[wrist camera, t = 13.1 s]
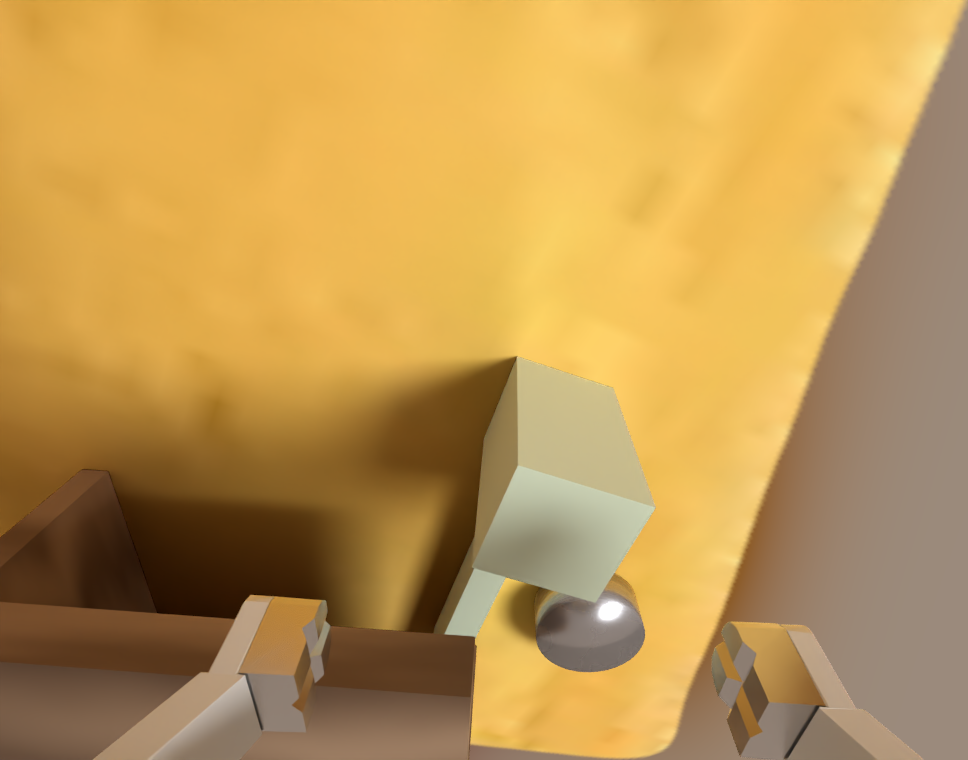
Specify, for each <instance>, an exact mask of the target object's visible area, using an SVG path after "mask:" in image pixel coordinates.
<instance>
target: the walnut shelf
mask: <svg viewBox="0 0 968 760" xmlns="http://www.w3.org/2000/svg"><path fill="white" fill-rule="evenodd" d="M234 620H235V619H228V618H214V617H200V616H186V615H173V614H159V613H157V611H156V609H155V606H154V603H153V600H152V597H151V594H150V591H149V588H148V585H147V583H146V580H145V577H144V574H143V571H142V568H141V565H140V562H139V559H138V556H137V554H136V551H135V548H134V545H133V542H132V539H131V536H130V533H129V530H128V528H127V525H126V522H125V519H124V516H123V513H122V510H121V507H120V504H119V501H118V499H117V496H116V493H115V490H114V487H113V484H112V481H111V478H110V475H109V473H108V471H96V470H81V471H80V472H78V473H77V474H76V475H75V476H74V477H72V478H71V479H70V480H69V481H68V482H66V483H65V484H64V485H63V486H62V487H60V488H59V489H58V490H57V491H56V492H54V493H53V494H52V495H51V496H50V497H48V498H47V499H46V500H45V501H44V502H42V503H41V504H40V505H39V506H38V507H36V508H35V509H34V510H33V511H32V512H30V513H29V514H28V515H27V516H26V517H24V518H23V519H22V520H21V521H20V522H18V523H17V524H16V525H15V526H14V527H12V528H11V529H10V530H9V531H8V532H6V533H5V534H4V535H3V536H2V537H0V760H93V759H94V758H95V757H96V756H98V755H99V754H100V753H101V752H103V751H104V750H105V749H106V748H108V747H109V746H110V745H111V744H112V743H114V742H115V741H116V740H117V739H119V738H120V737H121V736H122V735H124V734H125V733H126V732H127V731H129V730H130V729H131V728H132V727H134V726H135V725H136V724H137V723H138V722H140V721H141V720H142V719H143V718H145V717H146V716H147V715H148V714H150V713H151V712H152V711H153V710H155V709H156V708H157V707H158V706H159V705H161V704H162V703H163V702H164V701H166V700H167V699H168V698H169V697H171V696H172V695H173V694H174V693H176V692H177V691H178V690H179V689H180V688H182V687H183V686H184V685H185V684H187V683H188V682H189V681H190V680H192V679H193V678H194V677H195V676H197V675H198V674H199V673H200V672H209V670H210V668H211V666H212V664H213V662H214V660H215V658H216V656H217V654H218V652H219V650H220V648H221V646H222V644H223V642H224V640H225V638H226V636H227V634H228V632H229V630H230V628H231V626H232V624H233V622H234ZM330 627H331V648H330V654H329V660H328V663H327V667H326V670H325V674H324V675H323V676H322V677H321V678H320V679H319V680H318V681H317V682H316V683H315V686H316V692H317V700H316V703H315V707H314V710H313V713H312V716H311V720H310V723H309V726H308V729H307V732H273V731H262V735H261V736H260V737H259V739H258V740H257V741H256V742H255V743H254V744H253V745H252V746H251V748H250V749H249V750H248V751H247V752H246V753H245V754H244V755H243V757H242V758H241V759H240V760H469V752H470V738H471V723H472V708H473V693H474V679H475V664H476V647H477V646H476V645H475V636H461V635H448V634H434V633H420V632H406V631H393V630H379V629H365V628H351V627H338V626H330Z"/></svg>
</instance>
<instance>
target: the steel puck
mask: <svg viewBox="0 0 968 760" xmlns="http://www.w3.org/2000/svg"><path fill="white" fill-rule="evenodd" d="M534 609H535V626H536V640H537V645H538V647H539V649H540V651H541V653H542V654H543V655H544V656H545V657H546V658H547V659H548V660H549V661H551V662H552V663H554V664H556V665H558V666H560V667H562V668H565V669H569V670H573V671H579V672H598V671H604V670H608V669H612V668H615V667H617V666H620V665H622V664H624V663H625V662H627V661H629V660H630V659H631V658H633V657H634V656H635V655H636V654H637V653H638V651H639V650H640V648H641V647H642V645H643V642H644V638H645V630H644V626H643V622H642V618H641V615H640V611H639V607H638V604H637V600H636V596H635V593H634V591H633V589H632V587H631V586H630V584H629V583H628V582H627V581H626V580H624V579H623V578H622V577H620V576H618V575H617V574H615V573H614V574H613V576H612V577H611V579H610V581H609V582H608V584H607V585H606V587H605V589H604V590H603V592H602V593H601V595H600V596H599V598H598V600H597V601H596V603H594V602H591V601H587V600H584V599H580V598H577V597H573V596H570V595H566V594H563V593H559V592H556V591H552V590H549V589H545V588H542V587H540V588H539V590H538V591H537V594H536V596H535V601H534Z"/></svg>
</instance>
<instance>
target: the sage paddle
mask: <svg viewBox="0 0 968 760" xmlns="http://www.w3.org/2000/svg"><path fill="white" fill-rule="evenodd" d="M655 508H656V507H655V504H654V501H653V498H652V496H651V493H650V490H649V487H648V484H647V482H646V479H645V476H644V473H643V470H642V467H641V465H640V462H639V459H638V456H637V453H636V451H635V448H634V445H633V442H632V439H631V436H630V434H629V431H628V428H627V425H626V422H625V420H624V417H623V414H622V411H621V408H620V405H619V403H618V400H617V397H616V394H615V391H614V389H613V388H612V387H609V386H606V385H602V384H599V383H596V382H593V381H590V380H587V379H584V378H581V377H578V376H575V375H572V374H569V373H566V372H563V371H560V370H557V369H554V368H551V367H548V366H545V365H542V364H539V363H536V362H533V361H530V360H527V359H524V358H521V357H518V356H517V358H516V360H515V363H514V365H513V368H512V370H511V373H510V375H509V378H508V380H507V383H506V385H505V388H504V390H503V393H502V395H501V398H500V400H499V402H498V405H497V407H496V410H495V412H494V415H493V417H492V420H491V422H490V425H489V427H488V430H487V432H486V435H485V437H484V443H483V454H482V465H481V475H480V486H479V496H478V507H477V517H476V528H475V536H474V538H473V541H472V543H471V545H470V548H469V550H468V552H467V554H466V557H465V559H464V561H463V563H462V566H461V568H460V570H459V573H458V575H457V577H456V579H455V582H454V584H453V586H452V589H451V591H450V593H449V595H448V598H447V600H446V602H445V604H444V607H443V609H442V611H441V614H440V616H439V618H438V620H437V623H436V625H435V627H434V634H448V635H461V636H475V638H476V636H477V634H478V632H479V630H480V628H481V626H482V624H483V622H484V620H485V618H486V616H487V614H488V612H489V610H490V608H491V606H492V604H493V602H494V600H495V598H496V596H497V594H498V592H499V590H500V588H501V586H502V584H503V582H504V580H505V578H506V577H507V578H510V579H514V580H517V581H521V582H524V583H528V584H531V585H535V586H538V587H542V588H545V589H549V590H552V591H556V592H559V593H563V594H566V595H570V596H573V597H577V598H580V599H584V600H587V601H591V602H594V603H596V601H597V600H598V598H599V596H600V595H601V593H602V592H603V590H604V589H605V587H606V585H607V584H608V582H609V581H610V579H611V577H612V576H613V574H614V573H615V571H616V570H617V568H618V566H619V565H620V563H621V562H622V560H623V559H624V557H625V555H626V554H627V552H628V551H629V549H630V547H631V546H632V544H633V543H634V541H635V540H636V538H637V536H638V535H639V533H640V532H641V530H642V529H643V527H644V525H645V524H646V522H647V521H648V519H649V517H650V516H651V514H652V513H653V511H654V510H655Z"/></svg>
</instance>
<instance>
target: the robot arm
mask: <svg viewBox="0 0 968 760" xmlns="http://www.w3.org/2000/svg"><path fill="white" fill-rule="evenodd" d="M327 613H328V608H327V604H326V600H315V599H302V598H289V597H276V596H261V595H250V596H249V597H248V598H247V599H246V600H245V602H244V603H243V605H242V607H241V609H240V611H239V612H238V614H237V616H236V618H235V620H234V622H233V624H232V626H231V628H230V630H229V632H228V634H227V636H226V638H225V640H224V642H223V644H222V646H221V648H220V650H219V652H218V654H217V656H216V658H215V660H214V662H213V664H212V666H211V668H210V670H209V672H200V673H199V674H198V675H197V676H195V677H194V678H193V679H192V680H190V681H189V682H188V683H187V684H185V685H184V686H183V687H182V688H180V689H179V690H178V691H177V692H176V693H174V694H173V695H172V696H171V697H169V698H168V699H167V700H166V701H164V702H163V703H162V704H161V705H159V706H158V707H157V708H156V709H155V710H153V711H152V712H151V713H150V714H148V715H147V716H146V717H145V718H143V719H142V720H141V721H140V722H138V723H137V724H136V725H135V726H134V727H132V728H131V729H130V730H129V731H127V732H126V733H125V734H124V735H122V736H121V737H120V738H119V739H117V740H116V741H115V742H114V743H112V744H111V745H110V746H109V747H108V748H106V749H105V750H104V751H103V752H101V753H100V754H99V755H98V756H96V757H95V758H94V759H93V760H240V759H241V758H242V757H243V755H244V754H245V753H246V752H247V751H248V750H249V749H250V748H251V746H252V745H253V744H254V743H255V742H256V741H257V740H258V739H259V737H260V736H261V735H262V731H273V732H307V729H308V726H309V723H310V720H311V716H312V713H313V710H314V707H315V703H316V700H317V692H316V686H315V683H316V682H317V681H318V680H319V679H320V678H321V677H322V676H323V675H324V674H325V670H326V667H327V663H328V660H329V654H330V648H331V627H330V625H329V624H328V623H327V622H326V621H325V619H326V616H327ZM721 633H722V635H723V638H724V642H722V643H720V644H719V645H717V646H716V647H715V650H714V652H713V655H712V675H713V680H714V684H715V687H716V690H717V693H718V696H719V697H720V699H722V701H723V702H724V703H726V705H727V706H728V707H729V708H730V712H729V715H728V718H727V722H728V724H729V727H730V730H731V733H732V736H733V739H734V741H735V744H736V747H737V750H738V752H739V755H740V757H746V758H758V759H770V760H924V759H923V758H921V757H920V756H919V755H918V754H917V753H915V752H914V751H913V750H912V749H911V748H910V747H908V746H907V745H906V744H905V743H903V742H902V741H901V740H900V739H899V738H898V737H896V736H895V735H894V734H893V733H892V732H890V731H889V730H888V729H887V728H886V727H884V726H883V725H882V724H881V723H880V722H878V721H877V720H876V719H875V718H874V717H872V716H871V715H870V714H869V713H868V712H867V711H865V710H864V709H856V708H855V706H854V704H853V702H852V701H851V699H850V697H849V695H848V694H847V692H846V690H845V689H844V687H843V685H842V683H841V682H840V680H839V678H838V676H837V675H836V673H835V671H834V669H833V668H832V666H831V664H830V662H829V661H828V659H827V657H826V655H825V654H824V652H823V650H822V648H821V647H820V645H819V643H818V642H817V640H816V638H815V636H814V635H813V633H812V631H811V630H810V629H808V628H807V627H806V626H802V625H782V624H780V625H779V624H776V623H753V622H728V623H727V624H725V625H724V627H723V630H722V632H721Z"/></svg>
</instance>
